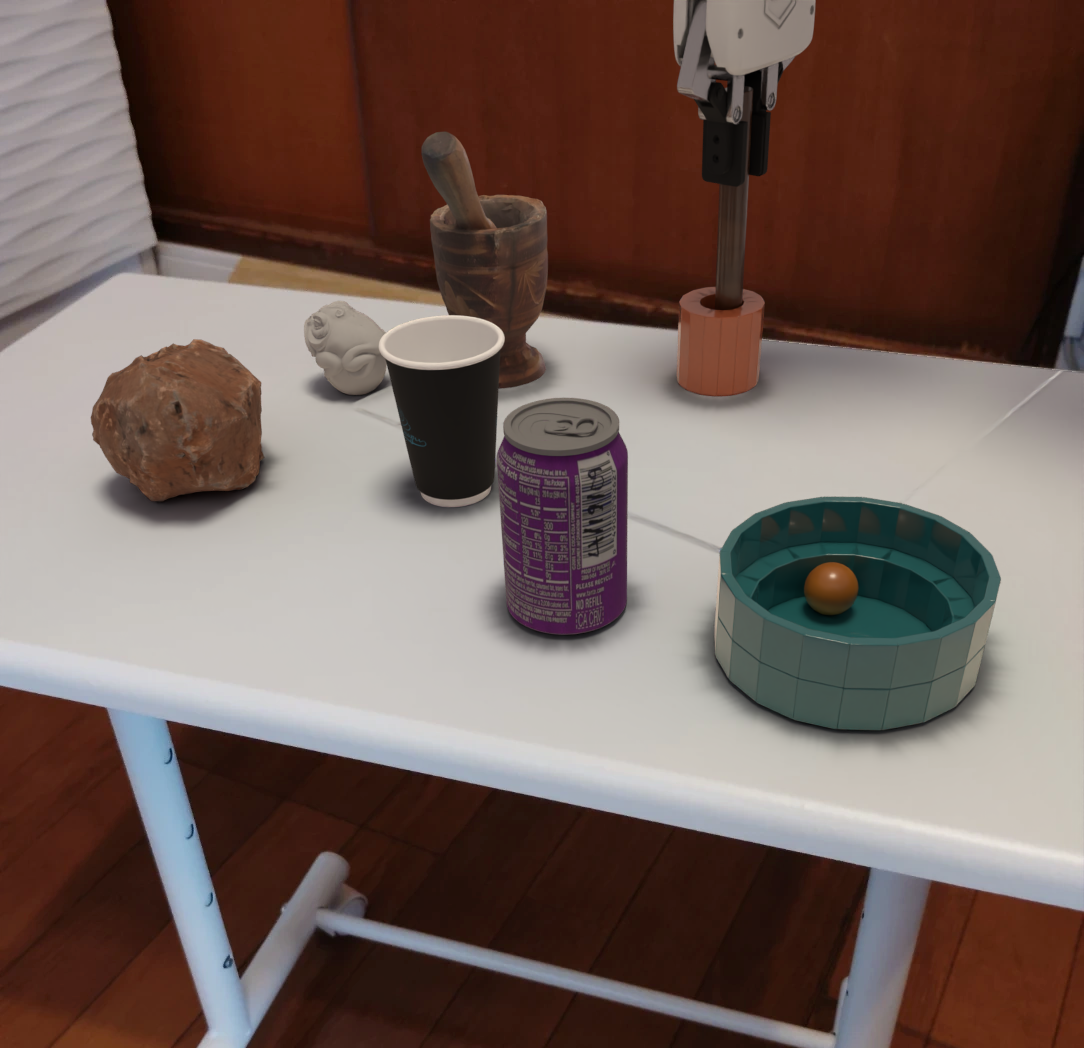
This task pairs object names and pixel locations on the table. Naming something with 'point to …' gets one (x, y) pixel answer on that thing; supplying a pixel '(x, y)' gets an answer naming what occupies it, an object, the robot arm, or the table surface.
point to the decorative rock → (182, 421)
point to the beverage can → (564, 515)
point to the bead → (831, 588)
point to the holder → (719, 344)
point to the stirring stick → (733, 229)
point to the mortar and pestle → (488, 256)
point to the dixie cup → (447, 403)
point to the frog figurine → (346, 347)
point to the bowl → (854, 612)
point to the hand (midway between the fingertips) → (734, 175)
